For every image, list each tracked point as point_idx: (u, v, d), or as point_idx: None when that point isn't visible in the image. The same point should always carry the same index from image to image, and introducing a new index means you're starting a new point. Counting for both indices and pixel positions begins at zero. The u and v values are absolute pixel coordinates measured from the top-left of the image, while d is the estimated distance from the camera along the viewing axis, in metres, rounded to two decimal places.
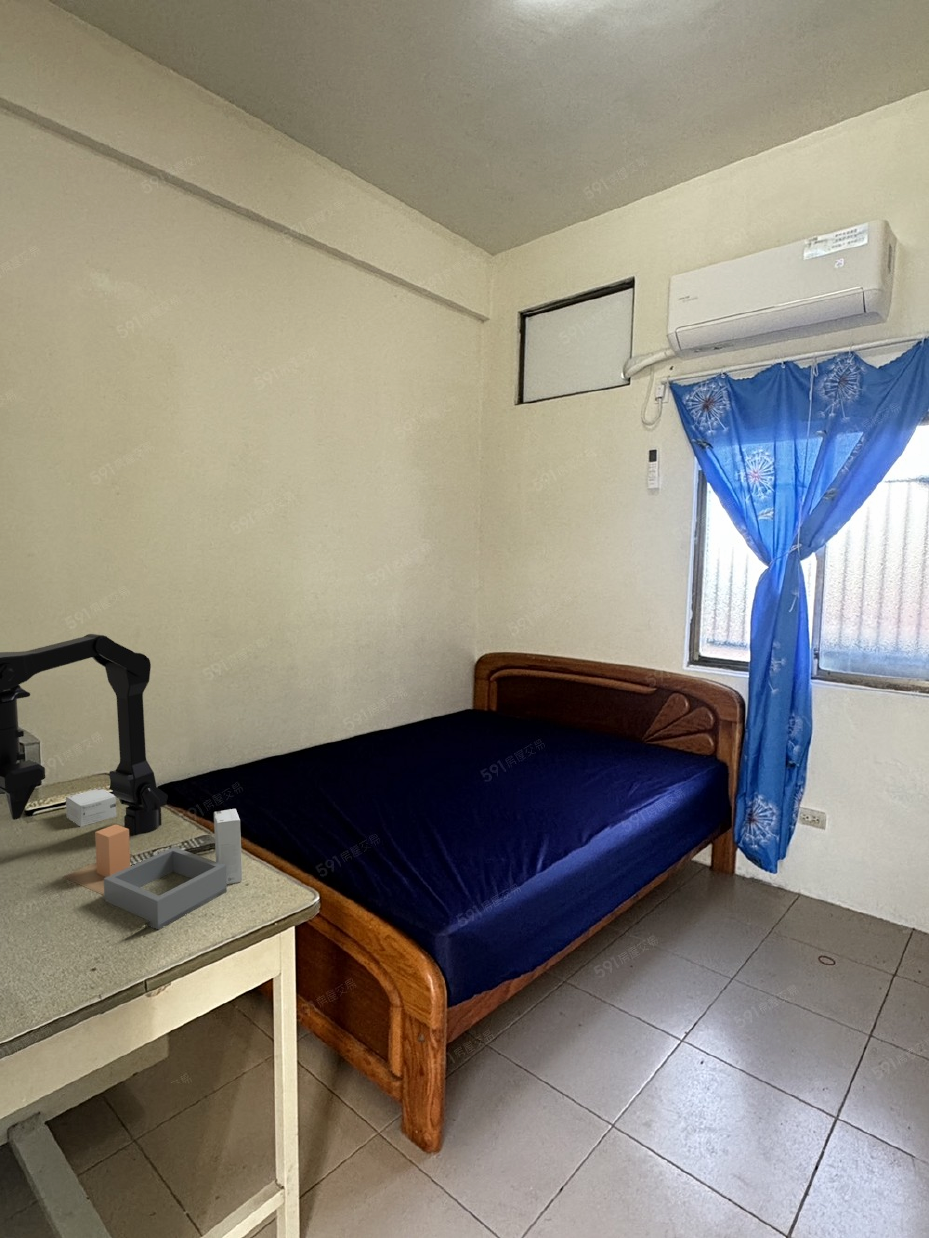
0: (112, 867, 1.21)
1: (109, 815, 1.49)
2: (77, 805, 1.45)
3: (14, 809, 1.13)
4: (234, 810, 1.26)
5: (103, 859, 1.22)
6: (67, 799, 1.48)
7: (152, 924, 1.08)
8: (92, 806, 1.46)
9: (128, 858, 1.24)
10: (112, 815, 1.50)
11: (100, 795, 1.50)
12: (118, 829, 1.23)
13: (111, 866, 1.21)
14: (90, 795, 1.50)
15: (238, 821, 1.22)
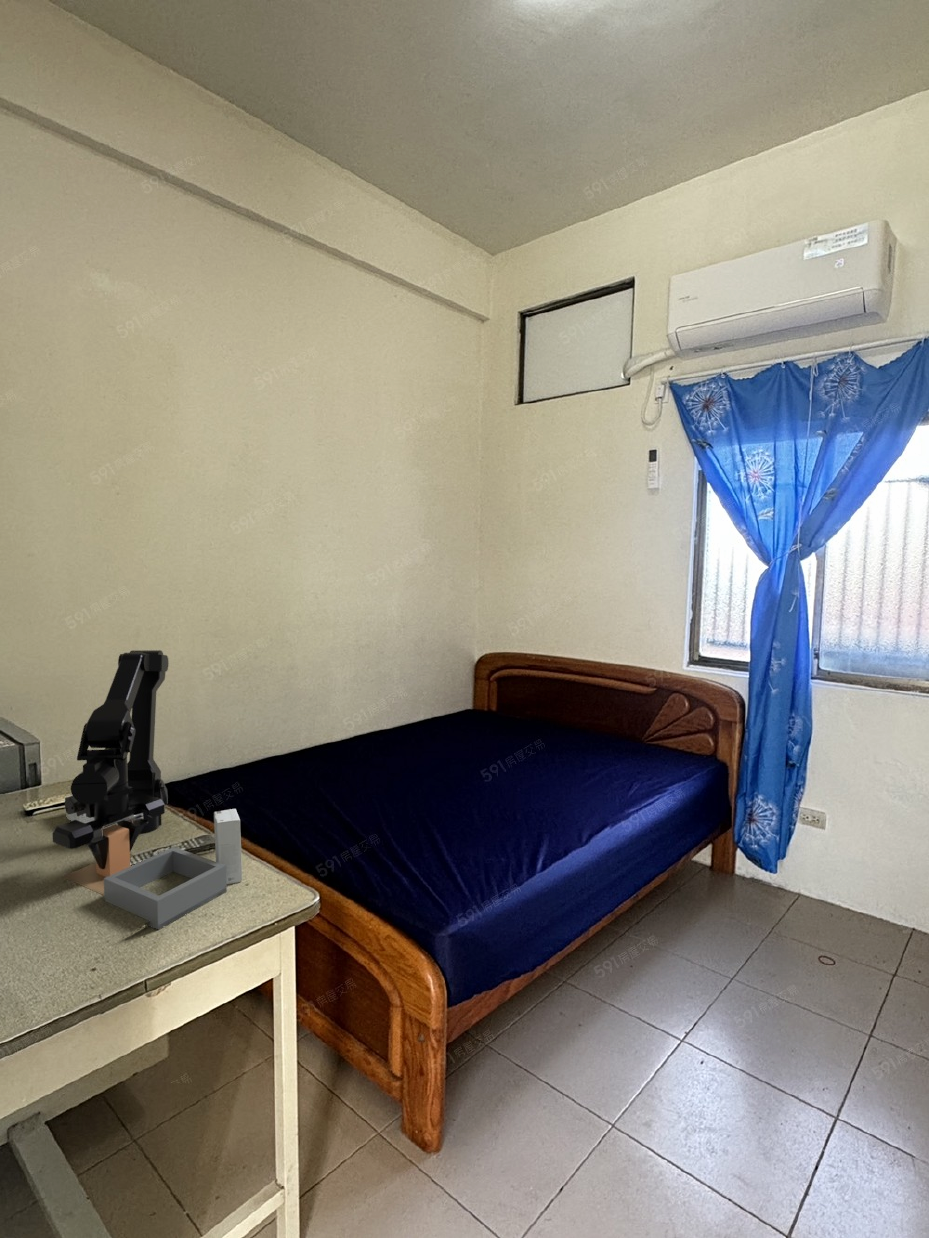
0: (112, 867, 1.21)
1: None
2: None
3: (95, 858, 1.21)
4: (234, 810, 1.26)
5: None
6: None
7: (152, 924, 1.08)
8: None
9: (128, 858, 1.24)
10: None
11: None
12: (118, 829, 1.23)
13: (111, 866, 1.21)
14: None
15: (238, 821, 1.22)
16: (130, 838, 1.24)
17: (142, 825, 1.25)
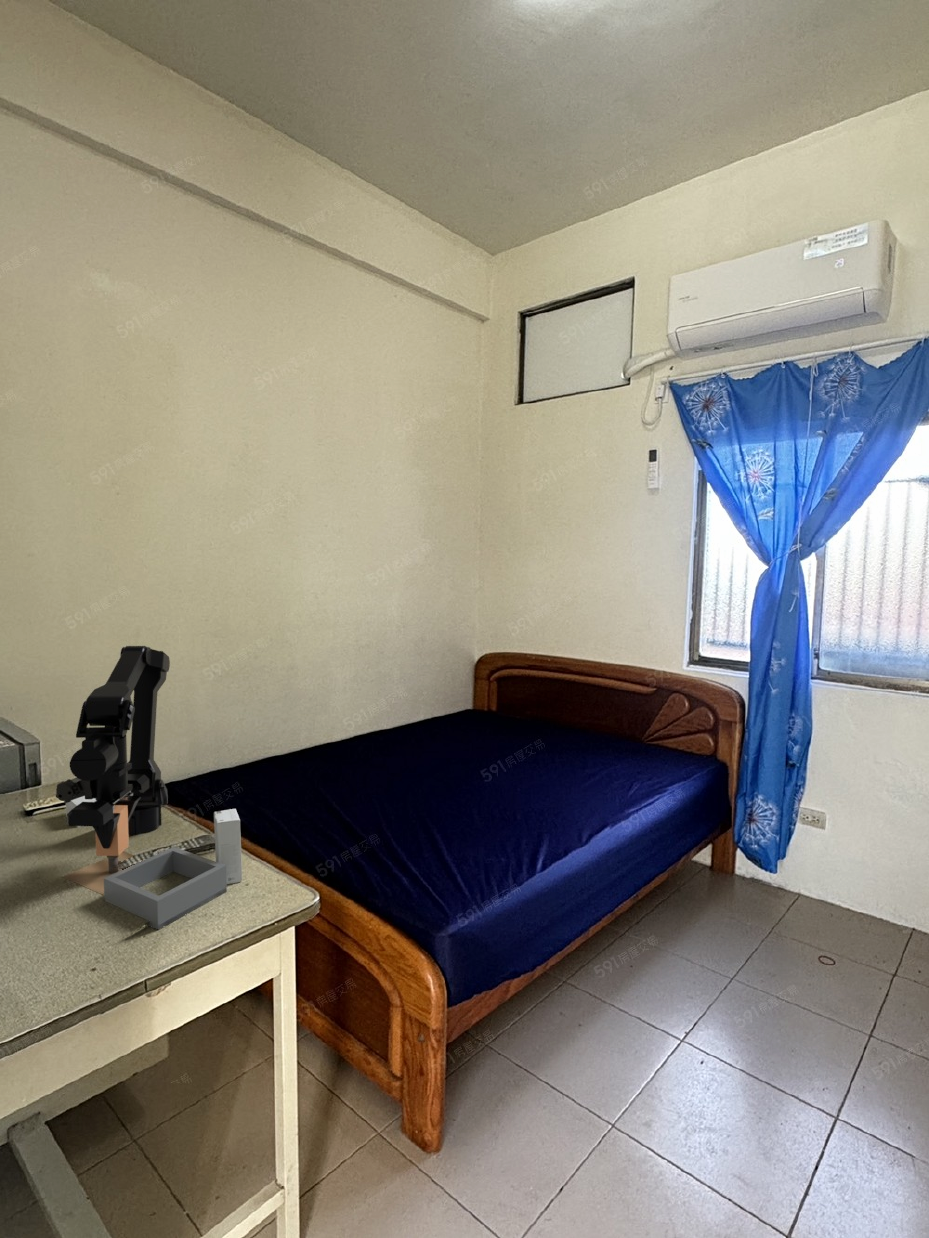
0: (119, 843, 1.22)
1: None
2: (75, 805, 1.45)
3: (100, 839, 1.20)
4: (234, 810, 1.26)
5: None
6: None
7: (152, 924, 1.08)
8: None
9: (127, 834, 1.25)
10: None
11: None
12: (116, 807, 1.23)
13: (118, 843, 1.21)
14: None
15: (238, 821, 1.22)
16: None
17: (137, 800, 1.27)
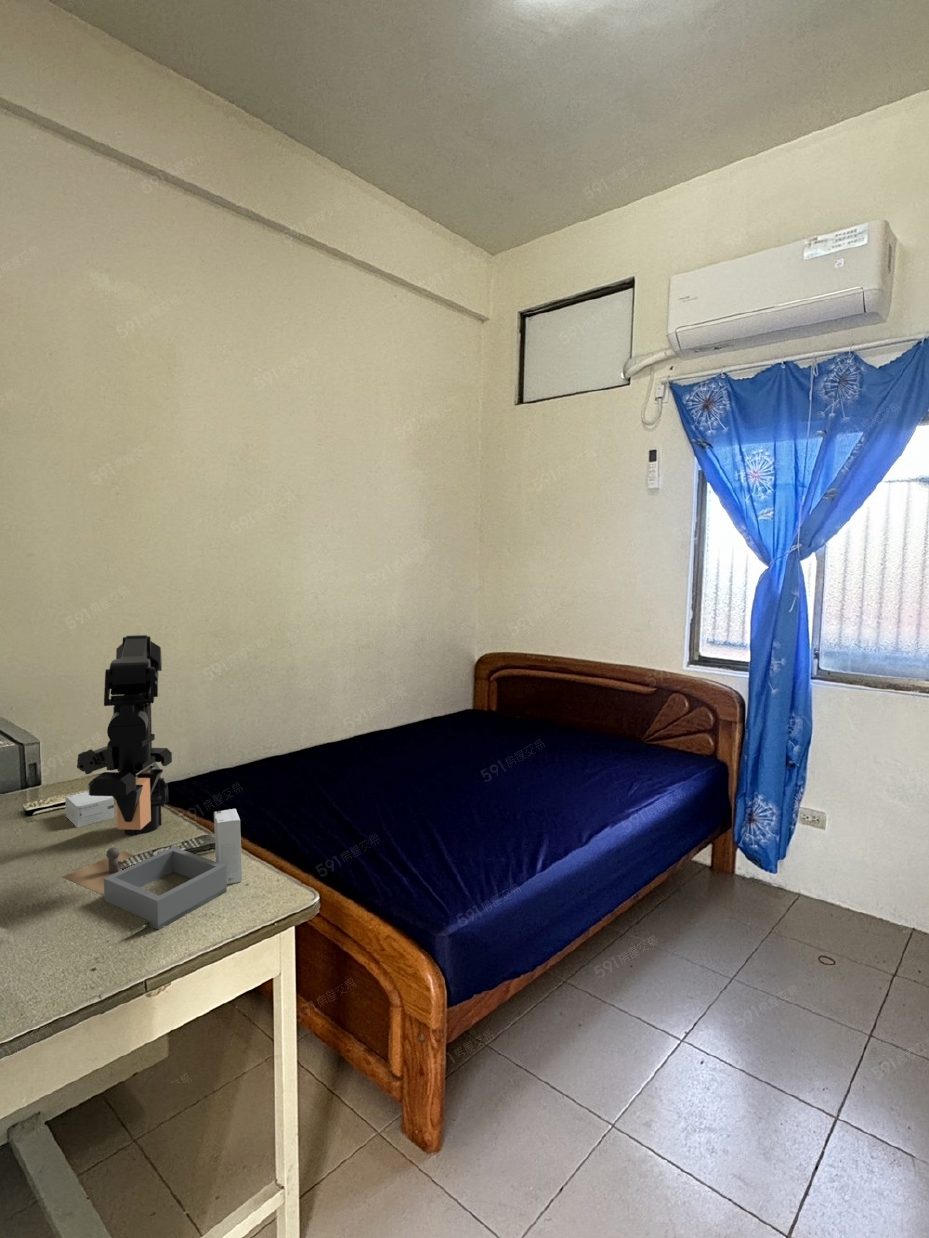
0: (141, 817, 1.17)
1: (106, 816, 1.48)
2: (74, 805, 1.45)
3: (122, 812, 1.16)
4: (234, 810, 1.26)
5: None
6: (66, 799, 1.48)
7: (152, 924, 1.08)
8: (88, 807, 1.45)
9: (150, 808, 1.21)
10: (110, 816, 1.49)
11: (99, 796, 1.49)
12: (138, 780, 1.19)
13: (140, 816, 1.17)
14: (89, 795, 1.49)
15: (238, 821, 1.22)
16: (150, 788, 1.21)
17: (160, 773, 1.22)
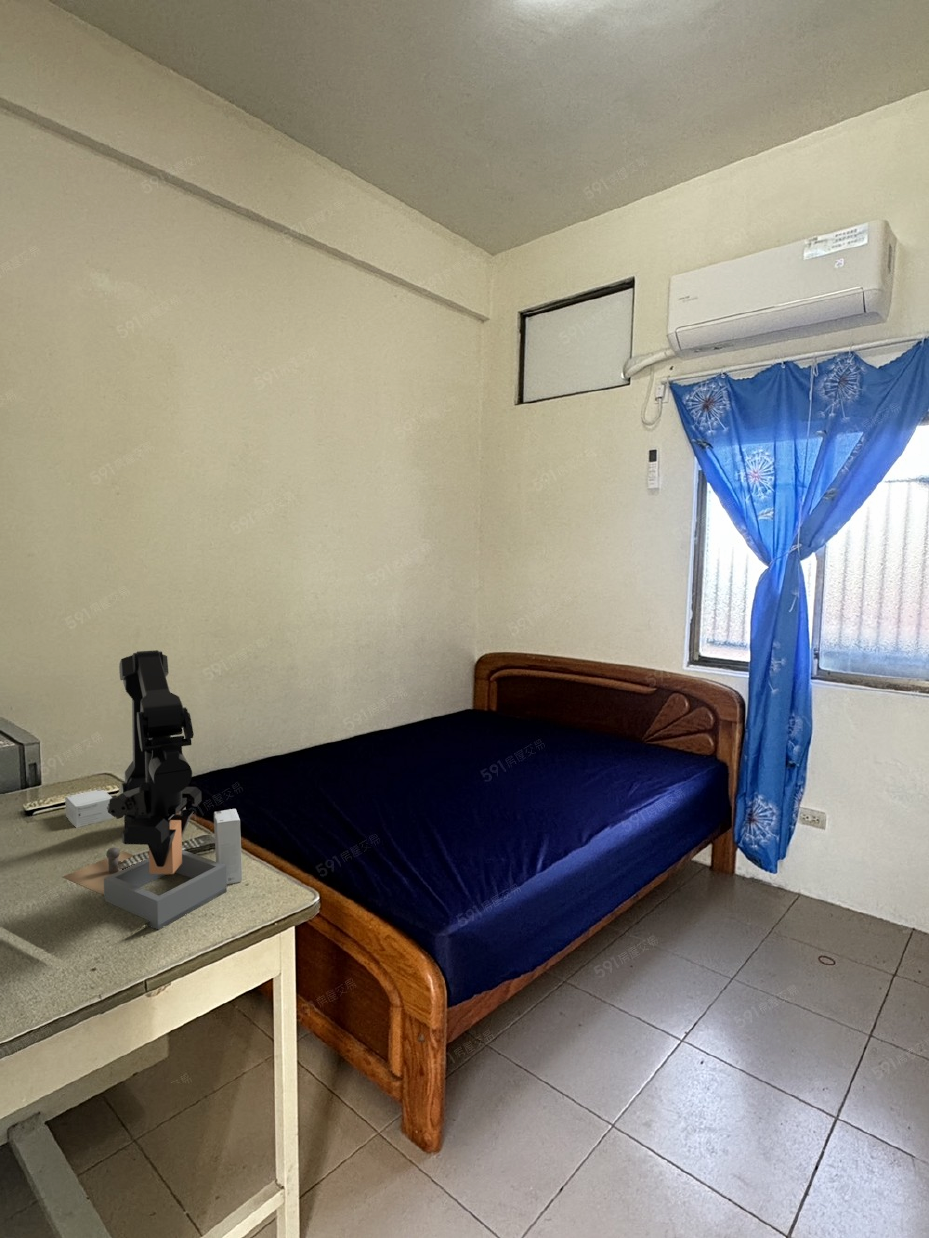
0: (174, 861, 1.15)
1: (105, 816, 1.48)
2: (73, 806, 1.45)
3: (155, 857, 1.13)
4: (234, 810, 1.26)
5: None
6: (66, 799, 1.48)
7: (152, 924, 1.08)
8: (87, 807, 1.45)
9: (181, 851, 1.18)
10: (109, 817, 1.49)
11: (98, 796, 1.49)
12: None
13: (173, 861, 1.14)
14: (89, 795, 1.49)
15: (238, 821, 1.22)
16: (181, 830, 1.18)
17: (191, 814, 1.20)
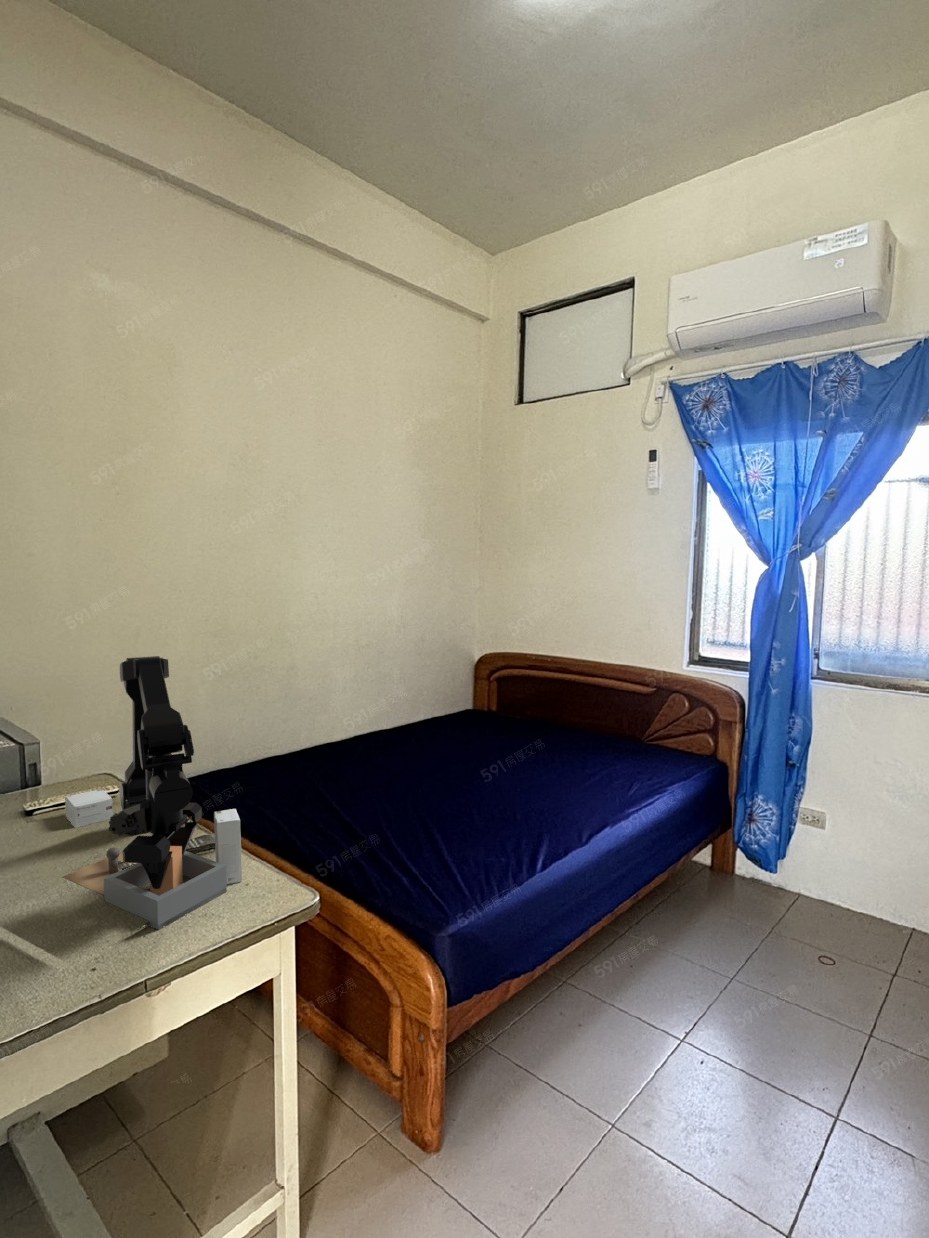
0: (174, 887, 1.15)
1: (105, 817, 1.48)
2: (72, 806, 1.44)
3: (151, 879, 1.12)
4: (234, 810, 1.26)
5: (162, 882, 1.14)
6: (66, 799, 1.48)
7: (152, 924, 1.08)
8: (87, 808, 1.45)
9: (181, 877, 1.18)
10: (108, 817, 1.49)
11: (98, 796, 1.49)
12: (170, 848, 1.17)
13: (173, 887, 1.15)
14: (89, 796, 1.49)
15: (238, 821, 1.22)
16: (185, 842, 1.20)
17: (195, 827, 1.22)
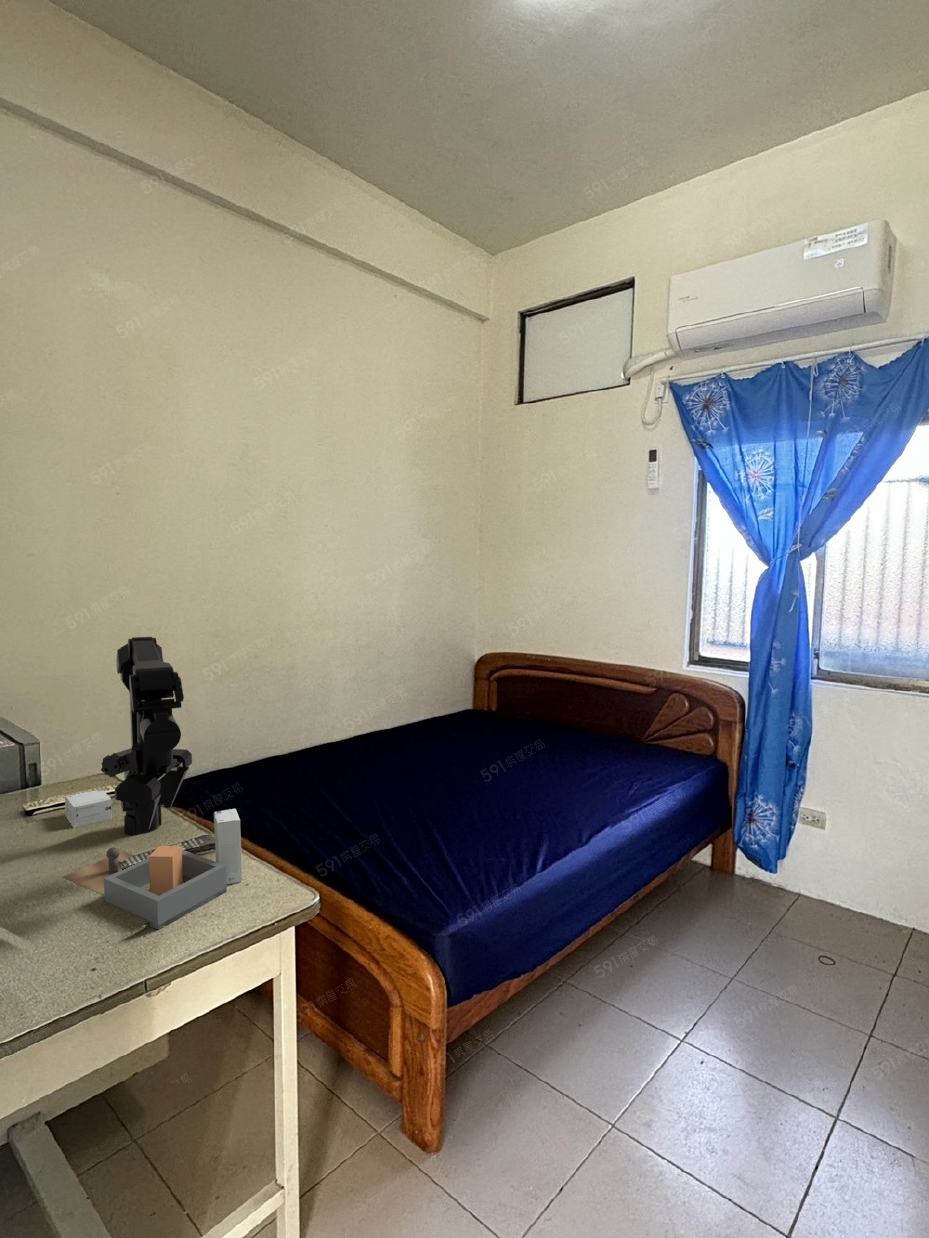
0: (174, 887, 1.15)
1: (104, 817, 1.48)
2: (71, 806, 1.44)
3: (140, 820, 1.15)
4: (234, 810, 1.26)
5: (162, 882, 1.14)
6: (65, 799, 1.48)
7: (152, 924, 1.08)
8: (85, 808, 1.45)
9: (181, 877, 1.18)
10: (107, 818, 1.48)
11: (97, 796, 1.49)
12: (170, 848, 1.17)
13: (173, 887, 1.15)
14: (88, 796, 1.49)
15: (238, 821, 1.22)
16: (177, 785, 1.25)
17: (186, 771, 1.27)
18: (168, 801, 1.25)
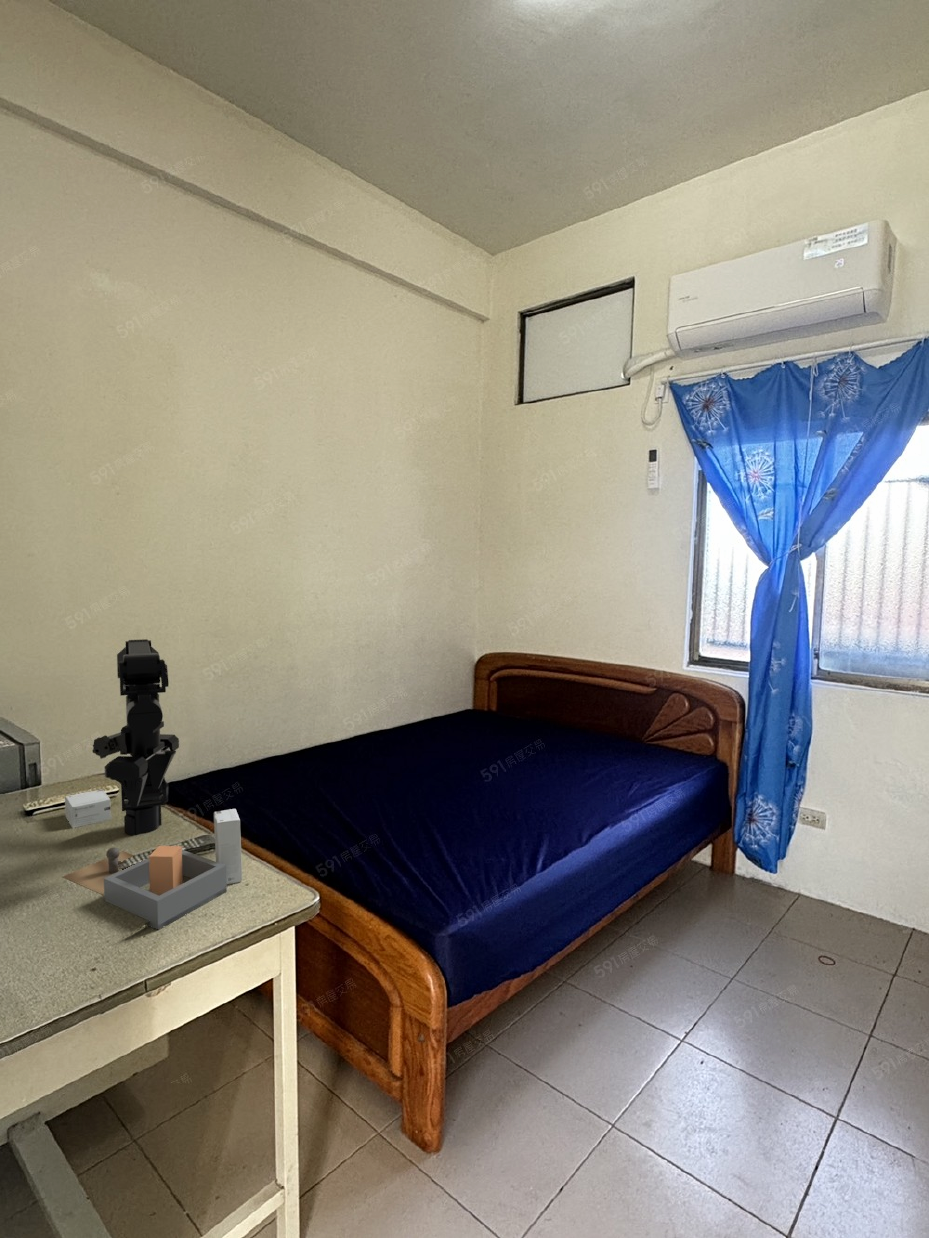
0: (174, 887, 1.15)
1: (103, 818, 1.48)
2: (70, 806, 1.44)
3: (129, 798, 1.23)
4: (234, 810, 1.26)
5: (162, 882, 1.14)
6: (65, 799, 1.48)
7: (152, 924, 1.08)
8: (84, 808, 1.45)
9: (181, 877, 1.18)
10: (106, 818, 1.48)
11: (97, 797, 1.49)
12: (170, 848, 1.17)
13: (173, 887, 1.15)
14: (88, 796, 1.49)
15: (238, 821, 1.22)
16: (164, 767, 1.33)
17: (173, 754, 1.34)
18: (156, 783, 1.33)
